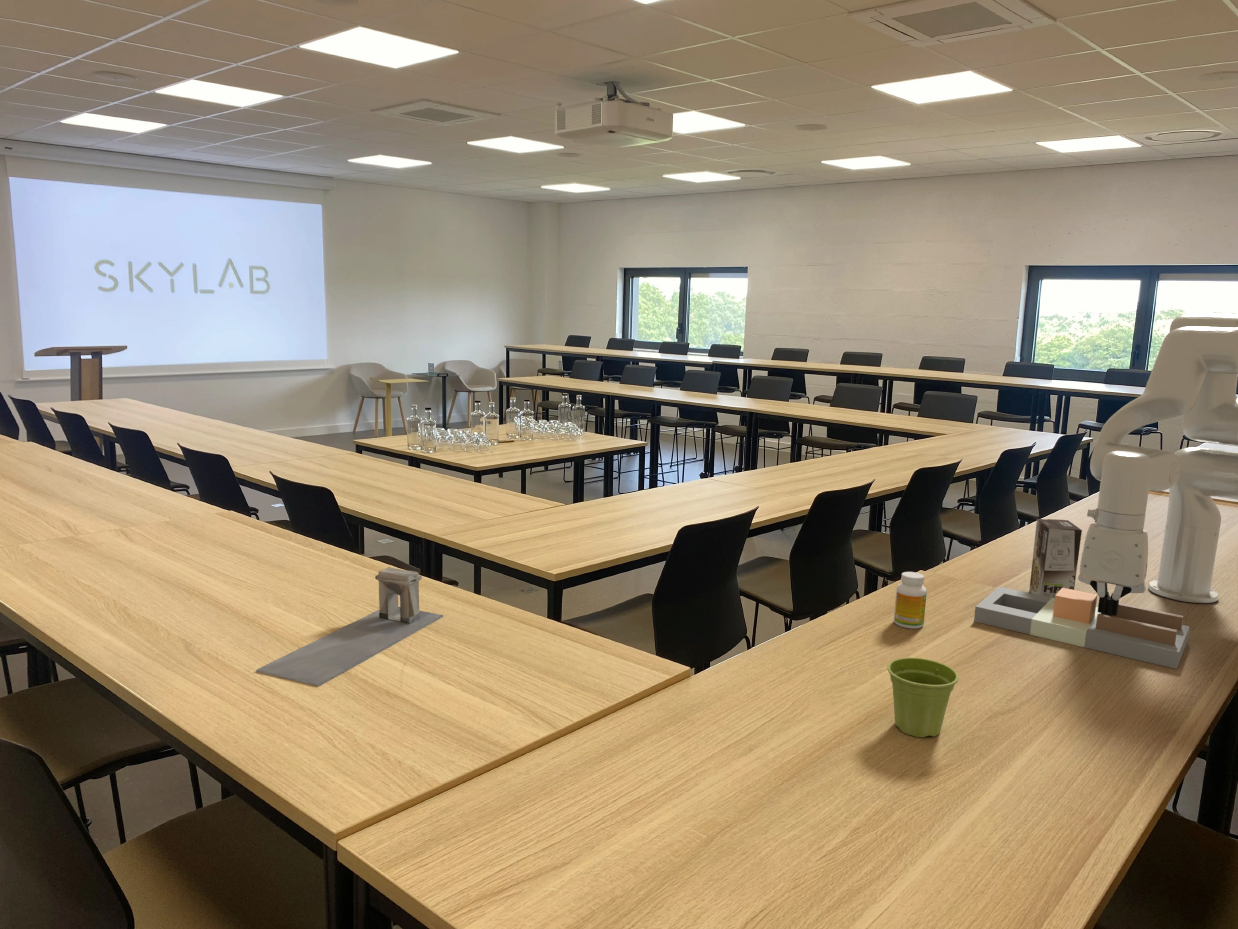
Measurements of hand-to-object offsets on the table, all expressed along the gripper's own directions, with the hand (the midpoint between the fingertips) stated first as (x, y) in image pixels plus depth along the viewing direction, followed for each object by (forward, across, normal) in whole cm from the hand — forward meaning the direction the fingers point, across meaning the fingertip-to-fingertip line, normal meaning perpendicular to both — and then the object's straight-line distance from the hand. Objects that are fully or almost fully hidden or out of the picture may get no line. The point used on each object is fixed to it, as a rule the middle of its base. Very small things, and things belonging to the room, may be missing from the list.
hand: (1106, 617), depth 157 cm
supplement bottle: (+4, -30, -18) cm, 35 cm away
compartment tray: (+4, -4, 0) cm, 6 cm away
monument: (+5, -99, -91) cm, 135 cm away
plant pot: (+4, -14, -58) cm, 60 cm away
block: (+1, -5, 0) cm, 5 cm away
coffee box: (+4, -13, +17) cm, 22 cm away
